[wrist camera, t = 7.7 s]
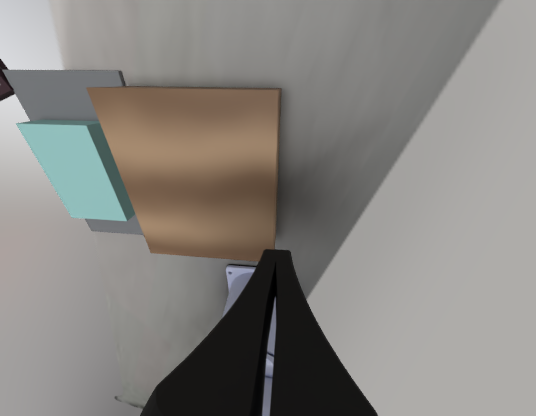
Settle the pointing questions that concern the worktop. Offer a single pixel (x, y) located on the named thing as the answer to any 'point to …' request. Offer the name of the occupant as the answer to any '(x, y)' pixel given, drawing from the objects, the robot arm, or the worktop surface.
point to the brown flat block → (197, 165)
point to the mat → (67, 110)
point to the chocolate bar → (4, 83)
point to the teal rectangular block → (80, 167)
